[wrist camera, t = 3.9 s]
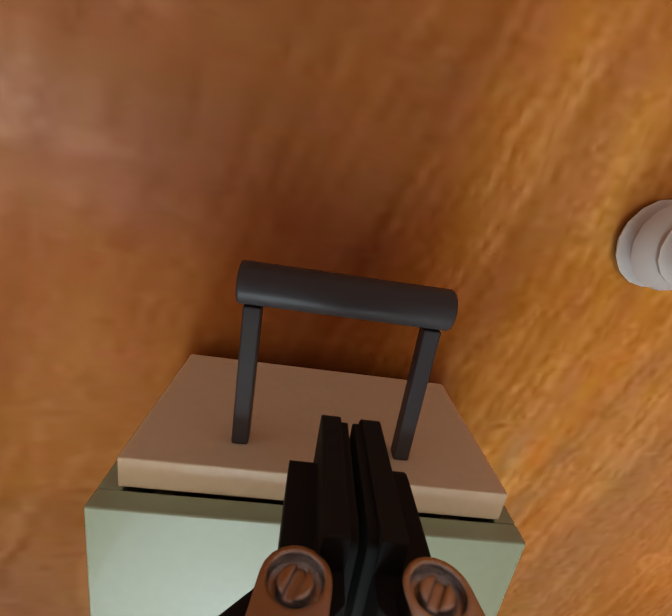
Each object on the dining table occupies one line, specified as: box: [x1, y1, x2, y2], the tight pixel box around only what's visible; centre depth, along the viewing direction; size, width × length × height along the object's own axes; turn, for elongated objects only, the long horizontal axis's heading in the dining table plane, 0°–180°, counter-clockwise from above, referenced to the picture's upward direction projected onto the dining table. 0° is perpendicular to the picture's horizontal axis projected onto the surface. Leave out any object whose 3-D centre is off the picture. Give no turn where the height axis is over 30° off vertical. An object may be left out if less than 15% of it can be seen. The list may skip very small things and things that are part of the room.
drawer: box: [117, 260, 507, 520], centre depth 18 cm, size 21×13×8 cm, turn 171°
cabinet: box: [84, 461, 525, 616], centre depth 20 cm, size 16×15×10 cm
